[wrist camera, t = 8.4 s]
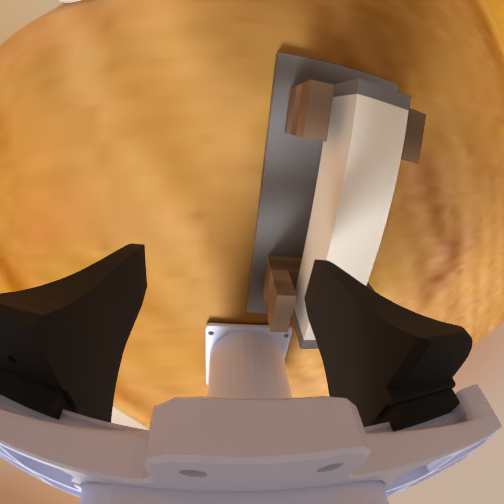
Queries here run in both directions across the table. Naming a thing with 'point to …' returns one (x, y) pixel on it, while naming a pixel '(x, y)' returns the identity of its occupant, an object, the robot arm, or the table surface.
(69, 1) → the gaming console
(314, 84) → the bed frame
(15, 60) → the table surface
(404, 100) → the rail
